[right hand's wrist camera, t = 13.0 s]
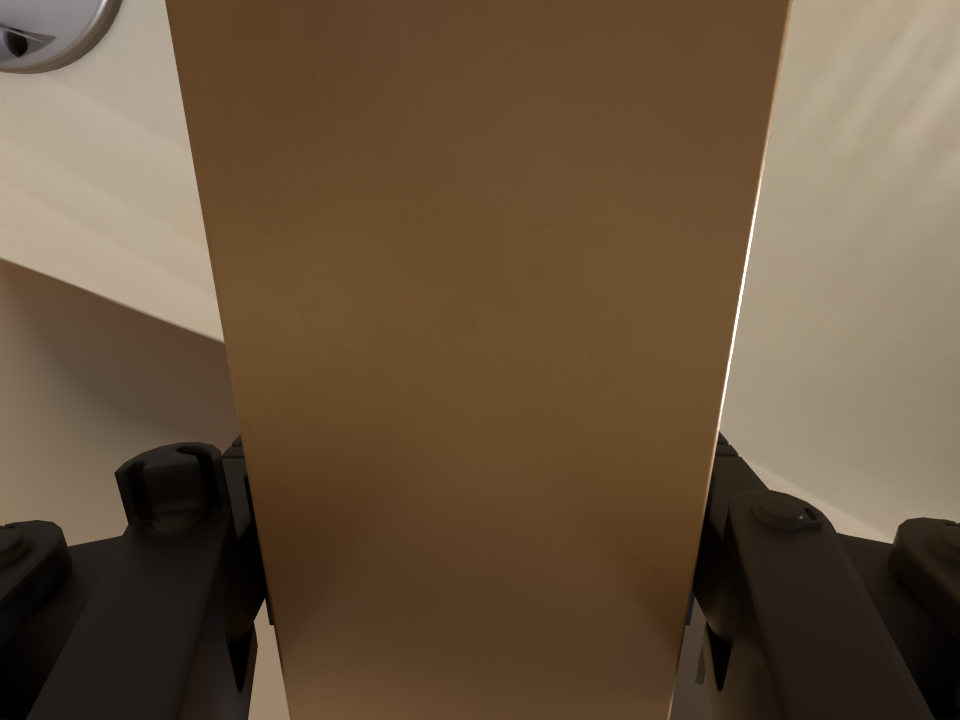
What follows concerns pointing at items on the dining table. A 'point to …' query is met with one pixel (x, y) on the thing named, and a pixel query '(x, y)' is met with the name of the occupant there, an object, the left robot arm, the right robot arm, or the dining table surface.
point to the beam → (479, 330)
